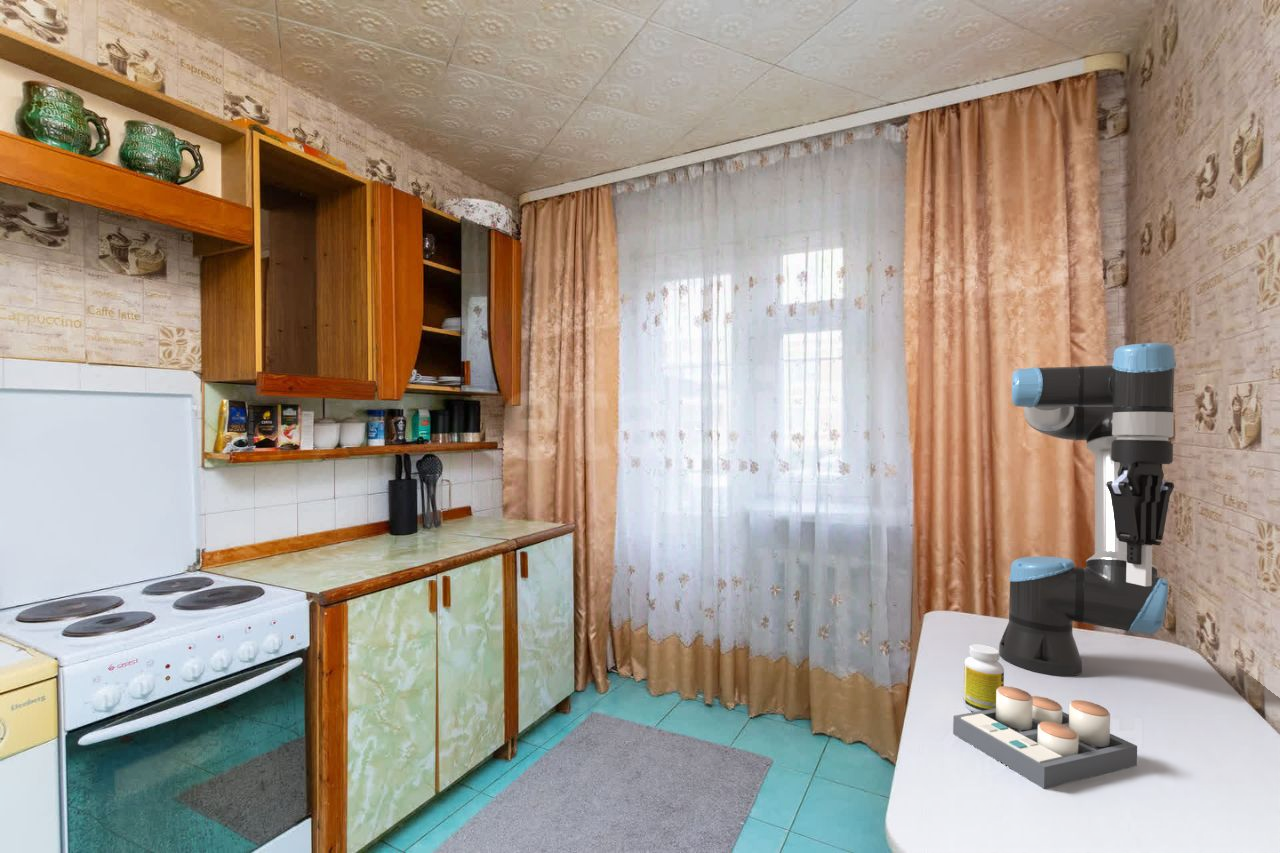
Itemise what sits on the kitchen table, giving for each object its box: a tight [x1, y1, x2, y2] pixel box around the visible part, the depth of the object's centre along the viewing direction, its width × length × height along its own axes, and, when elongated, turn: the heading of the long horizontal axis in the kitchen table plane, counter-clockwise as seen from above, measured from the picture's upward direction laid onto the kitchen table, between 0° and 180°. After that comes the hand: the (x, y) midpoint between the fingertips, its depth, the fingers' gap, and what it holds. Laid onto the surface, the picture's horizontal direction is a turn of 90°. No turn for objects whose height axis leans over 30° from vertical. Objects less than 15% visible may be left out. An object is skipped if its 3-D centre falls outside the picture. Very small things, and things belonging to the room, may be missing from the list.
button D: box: [1037, 722, 1079, 757], centre depth 86 cm, size 5×5×5 cm
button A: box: [1031, 695, 1064, 724], centre depth 95 cm, size 5×5×5 cm
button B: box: [1068, 699, 1111, 747], centre depth 88 cm, size 5×5×5 cm
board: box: [952, 708, 1138, 790], centre depth 90 cm, size 20×15×3 cm
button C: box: [996, 685, 1033, 730], centre depth 92 cm, size 5×5×5 cm
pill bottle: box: [963, 643, 1005, 713], centre depth 102 cm, size 6×6×11 cm
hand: (1138, 583), depth 91 cm, fingers closed
